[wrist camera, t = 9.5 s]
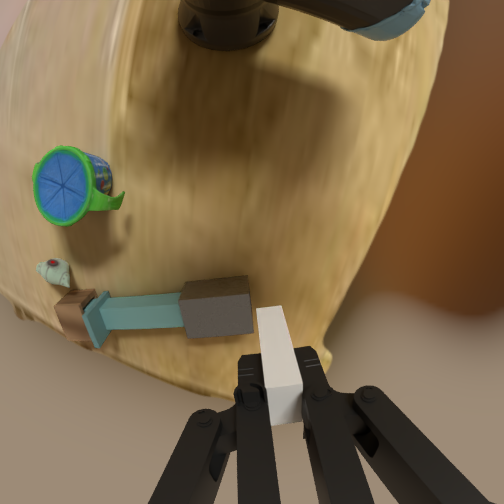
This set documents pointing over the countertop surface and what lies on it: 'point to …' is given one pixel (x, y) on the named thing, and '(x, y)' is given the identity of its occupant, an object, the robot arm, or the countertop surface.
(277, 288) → the countertop surface
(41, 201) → the snack cup
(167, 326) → the tube
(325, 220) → the countertop surface
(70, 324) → the socket block
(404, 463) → the robot arm
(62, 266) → the robot head
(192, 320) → the sleeve
